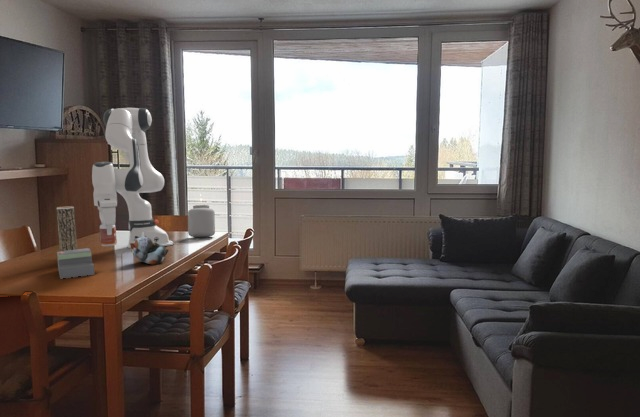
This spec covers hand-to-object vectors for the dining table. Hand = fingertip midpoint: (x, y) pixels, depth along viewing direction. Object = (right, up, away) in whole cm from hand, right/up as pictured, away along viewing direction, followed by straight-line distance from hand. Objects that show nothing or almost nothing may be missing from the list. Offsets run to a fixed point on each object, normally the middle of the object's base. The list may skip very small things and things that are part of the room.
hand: (108, 233), depth 200 cm
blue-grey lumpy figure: (+14, -14, +9) cm, 22 cm away
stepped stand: (-10, -16, -7) cm, 20 cm away
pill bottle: (0, -5, +1) cm, 5 cm away
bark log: (-23, -14, +12) cm, 29 cm away
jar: (+22, -6, +72) cm, 75 cm away
